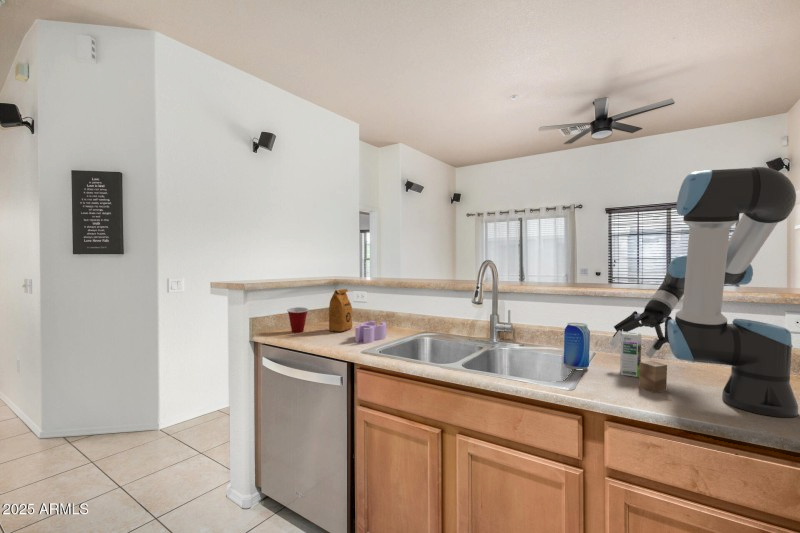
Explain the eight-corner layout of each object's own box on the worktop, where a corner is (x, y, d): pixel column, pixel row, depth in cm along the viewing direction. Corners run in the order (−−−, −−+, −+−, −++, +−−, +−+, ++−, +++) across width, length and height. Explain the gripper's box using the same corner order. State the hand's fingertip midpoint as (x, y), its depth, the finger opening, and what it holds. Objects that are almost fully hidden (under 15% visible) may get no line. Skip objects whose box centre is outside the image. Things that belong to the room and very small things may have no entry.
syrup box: (620, 375, 129) (622, 333, 129) (619, 370, 134) (621, 330, 134) (640, 377, 127) (641, 335, 126) (638, 373, 132) (640, 332, 131)
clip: (372, 344, 170) (372, 329, 169) (348, 341, 174) (348, 327, 174) (390, 336, 188) (391, 322, 188) (368, 333, 193) (369, 320, 193)
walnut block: (666, 391, 114) (667, 365, 114) (654, 393, 113) (655, 366, 112) (650, 385, 119) (651, 360, 119) (639, 387, 117) (639, 362, 117)
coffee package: (355, 329, 203) (355, 288, 202) (341, 333, 192) (341, 290, 191) (340, 327, 207) (340, 287, 207) (326, 331, 196) (326, 289, 196)
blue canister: (558, 365, 139) (559, 323, 139) (573, 363, 143) (574, 321, 143) (578, 372, 132) (579, 327, 131) (594, 369, 136) (595, 325, 135)
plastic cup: (286, 334, 188) (286, 310, 188) (287, 330, 199) (287, 307, 198) (308, 333, 191) (308, 310, 190) (308, 329, 201) (308, 307, 201)
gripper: (703, 318, 125) (670, 367, 120) (633, 308, 148) (604, 349, 144) (693, 303, 123) (659, 352, 118) (624, 295, 146) (593, 336, 142)
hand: (629, 350), depth 131 cm, fingers open, 13 cm apart
